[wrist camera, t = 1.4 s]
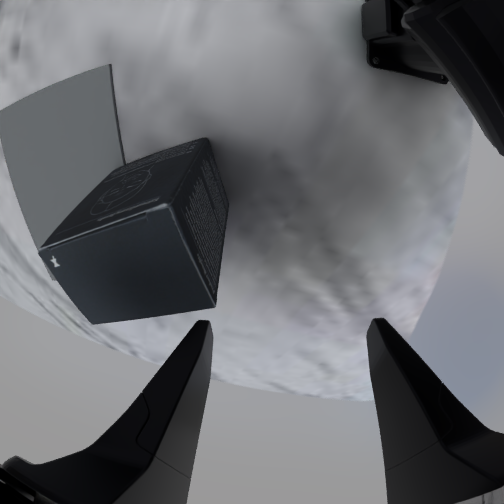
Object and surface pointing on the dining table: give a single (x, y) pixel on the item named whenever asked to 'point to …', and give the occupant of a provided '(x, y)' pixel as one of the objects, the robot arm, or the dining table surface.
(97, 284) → the box
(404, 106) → the dining table surface
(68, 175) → the mat
